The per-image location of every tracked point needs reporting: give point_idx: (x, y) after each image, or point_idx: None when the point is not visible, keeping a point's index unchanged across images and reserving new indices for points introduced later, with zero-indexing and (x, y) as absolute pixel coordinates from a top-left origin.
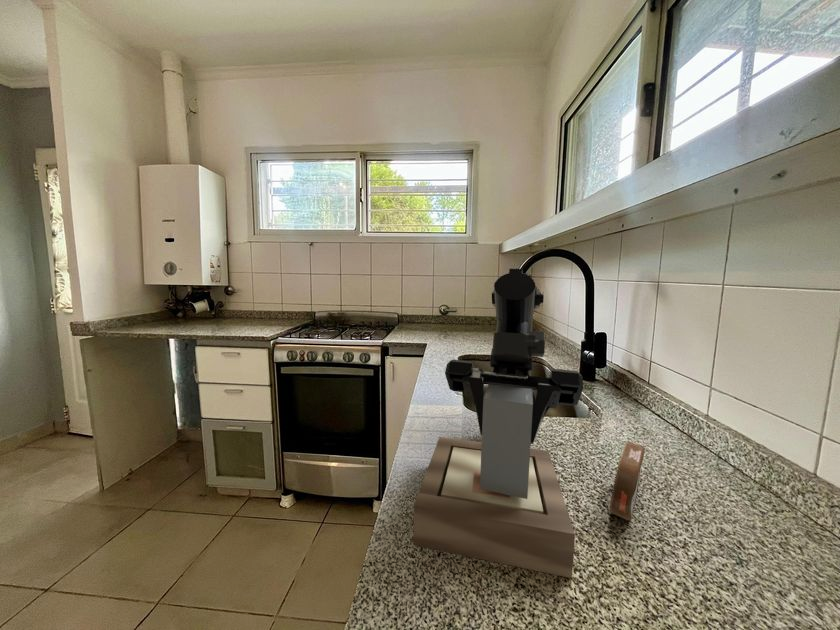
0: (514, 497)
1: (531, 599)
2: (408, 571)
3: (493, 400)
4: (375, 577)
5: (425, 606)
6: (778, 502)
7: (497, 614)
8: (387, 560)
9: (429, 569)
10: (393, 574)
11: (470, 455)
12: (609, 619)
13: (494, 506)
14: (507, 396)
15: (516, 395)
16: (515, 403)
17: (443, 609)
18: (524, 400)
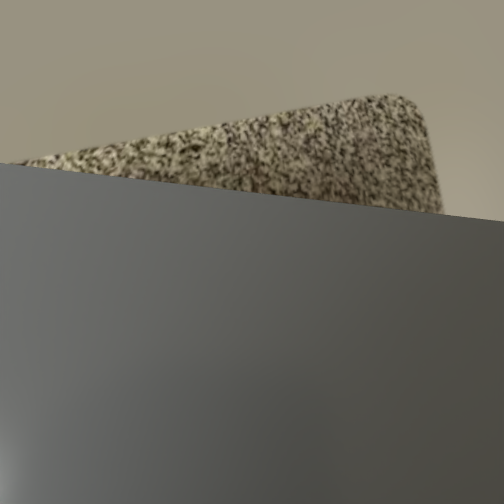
0: None
1: (166, 170)
2: (375, 177)
3: (435, 216)
4: (422, 155)
5: (333, 125)
6: None
7: (224, 134)
8: (416, 190)
9: (342, 189)
10: (397, 166)
11: None
12: (38, 162)
13: None
14: (263, 391)
15: (114, 491)
16: (159, 190)
17: (306, 126)
18: (8, 289)
